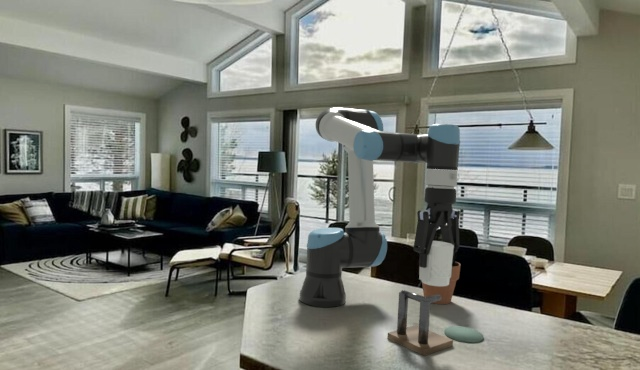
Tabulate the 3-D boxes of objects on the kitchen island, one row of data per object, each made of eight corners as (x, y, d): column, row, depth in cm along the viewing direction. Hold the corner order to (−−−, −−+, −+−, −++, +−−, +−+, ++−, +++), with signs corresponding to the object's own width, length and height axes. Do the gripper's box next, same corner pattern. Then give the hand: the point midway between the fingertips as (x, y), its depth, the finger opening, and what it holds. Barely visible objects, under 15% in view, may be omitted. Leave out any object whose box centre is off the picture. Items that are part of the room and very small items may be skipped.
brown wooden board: (387, 338, 113) (387, 332, 113) (415, 330, 120) (415, 325, 120) (424, 355, 104) (424, 349, 104) (452, 346, 110) (452, 340, 110)
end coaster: (436, 332, 119) (436, 330, 119) (458, 325, 125) (458, 323, 125) (468, 345, 111) (469, 343, 111) (490, 337, 117) (490, 335, 117)
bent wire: (394, 332, 113) (397, 289, 113) (412, 327, 118) (415, 286, 117) (423, 345, 106) (426, 299, 106) (441, 339, 110) (444, 295, 110)
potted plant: (408, 298, 150) (413, 226, 149) (431, 292, 159) (435, 223, 158) (444, 309, 140) (448, 231, 139) (466, 302, 149) (470, 229, 148)
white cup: (452, 288, 105) (455, 247, 104) (419, 285, 106) (421, 244, 106) (450, 280, 112) (452, 242, 112) (418, 277, 114) (421, 239, 113)
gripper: (425, 187, 99) (419, 287, 100) (478, 188, 111) (472, 277, 112) (401, 185, 105) (395, 279, 106) (453, 186, 117) (448, 270, 118)
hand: (435, 278), depth 109 cm, fingers closed on white cup, 8 cm apart
